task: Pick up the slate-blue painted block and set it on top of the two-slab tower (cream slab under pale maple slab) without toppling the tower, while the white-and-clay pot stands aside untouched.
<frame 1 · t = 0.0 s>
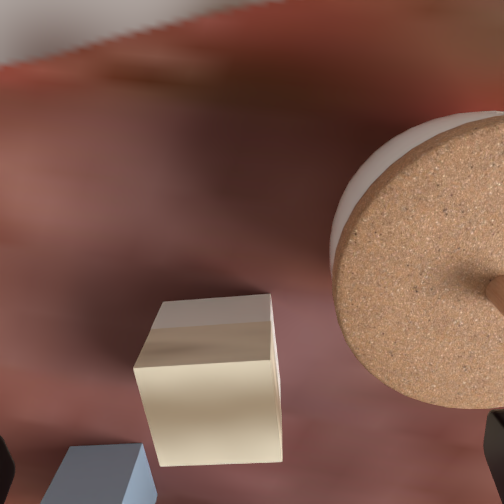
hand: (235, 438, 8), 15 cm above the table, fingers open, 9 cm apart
slab top: (219, 373, 22), point 3 cm above the table, touching slab bottom
blue block: (115, 470, 30), on the table
slab bottom: (224, 339, 25), on the table, touching slab top
lidded jar: (423, 209, 21), on the table
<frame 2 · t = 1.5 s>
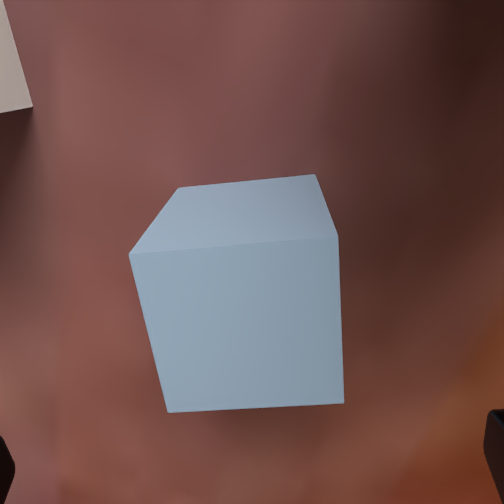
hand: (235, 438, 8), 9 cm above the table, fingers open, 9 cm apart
blue block: (253, 244, 17), on the table
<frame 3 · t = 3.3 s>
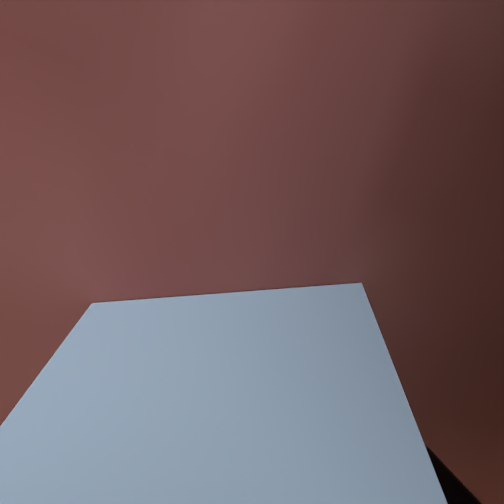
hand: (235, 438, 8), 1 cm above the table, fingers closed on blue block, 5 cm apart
blue block: (239, 398, 9), on the table, touching gripper
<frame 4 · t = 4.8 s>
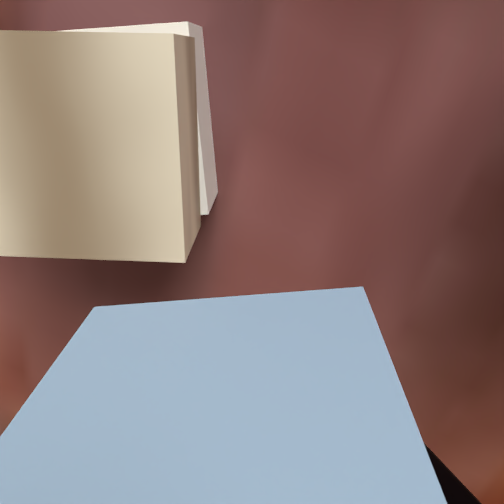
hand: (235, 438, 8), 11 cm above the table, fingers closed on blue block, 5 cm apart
slab top: (107, 137, 14), point 3 cm above the table, touching slab bottom
blue block: (241, 401, 9), point 10 cm above the table, touching gripper
slab bottom: (135, 119, 17), on the table, touching slab top
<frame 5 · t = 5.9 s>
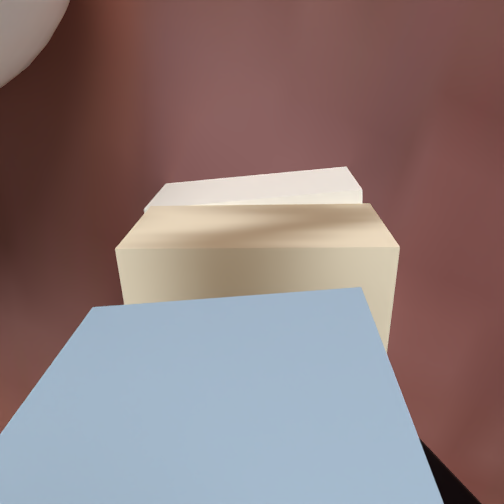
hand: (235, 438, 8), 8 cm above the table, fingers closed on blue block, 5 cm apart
slab top: (260, 299, 13), point 3 cm above the table, touching slab bottom
blue block: (239, 402, 9), point 7 cm above the table, touching gripper
slab bottom: (263, 254, 16), on the table, touching slab top
when the fingers open (8 cm above the table, at t = 6.5 s): blue block drops 2 cm, resting on slab top.
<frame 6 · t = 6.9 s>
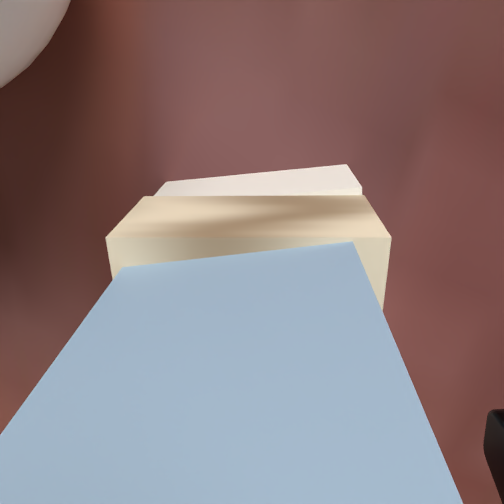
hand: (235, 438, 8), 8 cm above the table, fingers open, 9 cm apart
slab top: (254, 291, 13), point 3 cm above the table, touching blue block, slab bottom
blue block: (251, 349, 10), point 6 cm above the table, touching slab top
slab bottom: (263, 252, 16), on the table, touching slab top
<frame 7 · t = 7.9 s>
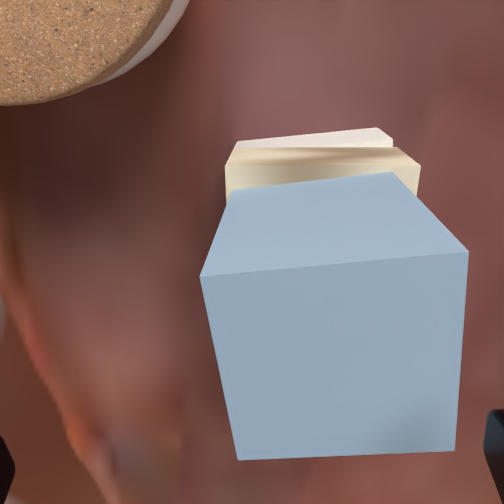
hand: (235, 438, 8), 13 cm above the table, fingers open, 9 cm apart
slab top: (311, 223, 17), point 3 cm above the table, touching blue block, slab bottom
blue block: (316, 252, 15), point 6 cm above the table, touching slab top
slab bottom: (309, 199, 20), on the table, touching slab top
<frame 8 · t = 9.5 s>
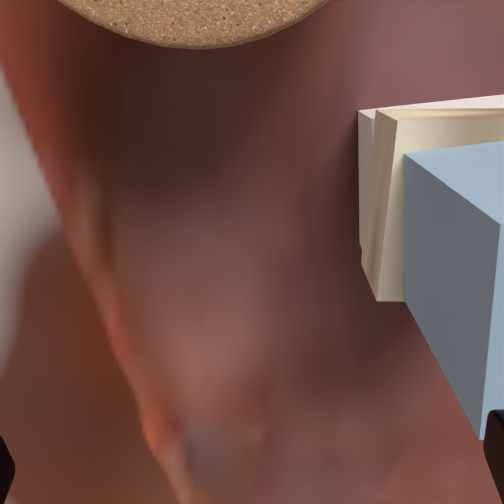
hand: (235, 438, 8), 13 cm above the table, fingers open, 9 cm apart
slab top: (448, 192, 16), point 3 cm above the table, touching slab bottom
blue block: (485, 222, 14), point 6 cm above the table
slab bottom: (427, 173, 19), on the table, touching slab top
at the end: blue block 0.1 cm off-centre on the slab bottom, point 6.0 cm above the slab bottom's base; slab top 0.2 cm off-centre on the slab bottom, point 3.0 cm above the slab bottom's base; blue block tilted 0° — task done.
